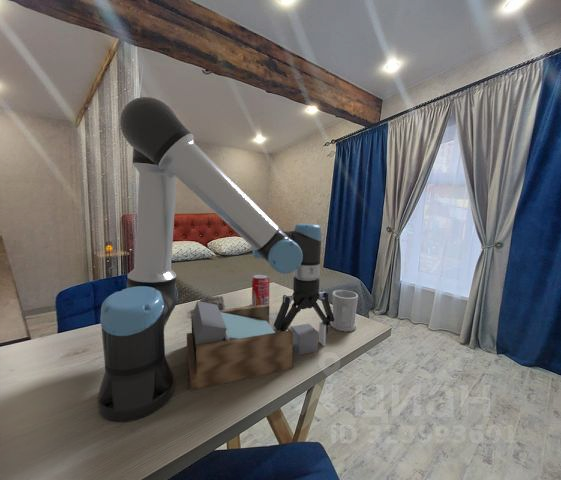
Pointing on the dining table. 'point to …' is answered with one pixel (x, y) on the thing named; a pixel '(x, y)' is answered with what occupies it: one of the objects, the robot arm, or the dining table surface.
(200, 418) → the dining table surface
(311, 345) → the block
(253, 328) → the trapdoor
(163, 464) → the dining table surface
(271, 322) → the stone
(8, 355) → the dining table surface
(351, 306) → the cup
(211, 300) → the rock
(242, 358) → the brown open boxy piece
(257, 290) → the soda can
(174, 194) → the robot arm
